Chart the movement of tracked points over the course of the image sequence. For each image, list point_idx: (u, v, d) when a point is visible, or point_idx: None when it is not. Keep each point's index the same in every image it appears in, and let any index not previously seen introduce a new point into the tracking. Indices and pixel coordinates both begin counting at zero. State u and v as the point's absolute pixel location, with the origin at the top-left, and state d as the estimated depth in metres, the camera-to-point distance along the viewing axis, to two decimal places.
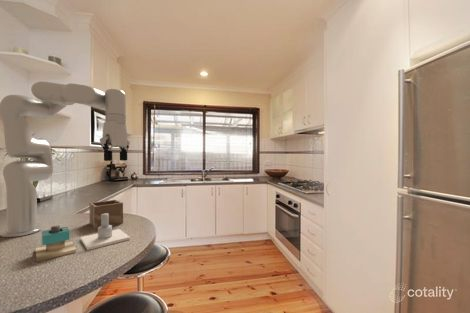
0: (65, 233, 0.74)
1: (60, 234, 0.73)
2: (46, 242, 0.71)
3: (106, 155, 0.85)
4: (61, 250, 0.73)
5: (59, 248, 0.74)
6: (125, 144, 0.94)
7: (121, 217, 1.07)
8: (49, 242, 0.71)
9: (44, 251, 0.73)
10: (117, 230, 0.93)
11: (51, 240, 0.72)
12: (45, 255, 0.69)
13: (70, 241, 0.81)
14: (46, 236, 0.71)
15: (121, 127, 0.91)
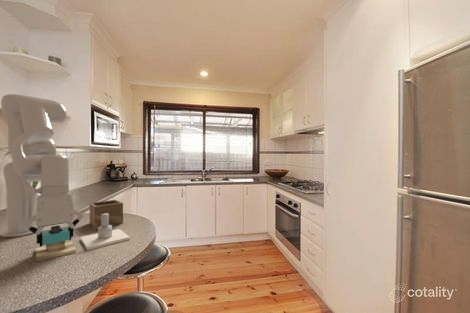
0: (65, 233, 0.74)
1: (60, 234, 0.73)
2: (46, 242, 0.71)
3: (72, 232, 0.78)
4: (61, 250, 0.73)
5: (59, 248, 0.74)
6: None
7: (121, 217, 1.07)
8: (49, 242, 0.71)
9: (44, 251, 0.73)
10: (117, 230, 0.93)
11: (51, 240, 0.72)
12: (45, 255, 0.69)
13: (70, 241, 0.81)
14: (46, 236, 0.71)
15: None
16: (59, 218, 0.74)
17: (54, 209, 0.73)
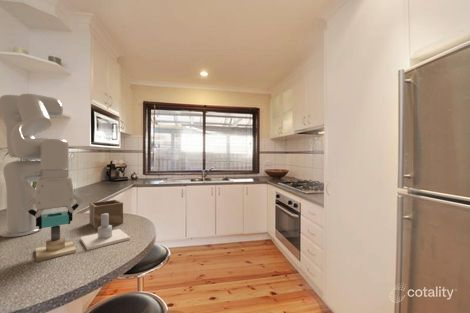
0: (64, 216, 0.74)
1: (59, 218, 0.73)
2: (46, 225, 0.71)
3: None
4: (61, 250, 0.73)
5: (59, 248, 0.74)
6: None
7: (121, 217, 1.07)
8: (48, 225, 0.72)
9: (44, 251, 0.73)
10: (117, 230, 0.93)
11: (50, 223, 0.72)
12: (45, 255, 0.69)
13: (70, 241, 0.81)
14: (45, 219, 0.71)
15: None
16: (58, 202, 0.74)
17: (53, 193, 0.73)
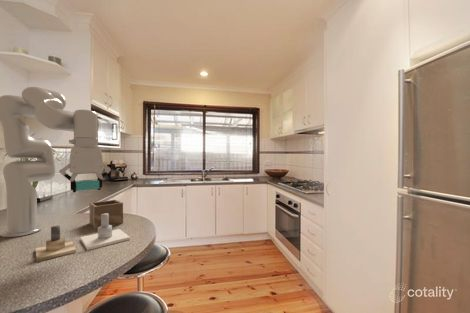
0: (95, 182, 0.80)
1: (91, 182, 0.79)
2: (79, 188, 0.77)
3: None
4: (61, 250, 0.73)
5: (59, 248, 0.74)
6: None
7: (121, 217, 1.07)
8: (82, 188, 0.77)
9: (44, 251, 0.73)
10: (117, 230, 0.93)
11: (83, 186, 0.78)
12: (45, 255, 0.69)
13: (70, 241, 0.81)
14: (79, 182, 0.77)
15: None
16: (90, 168, 0.80)
17: (85, 159, 0.79)
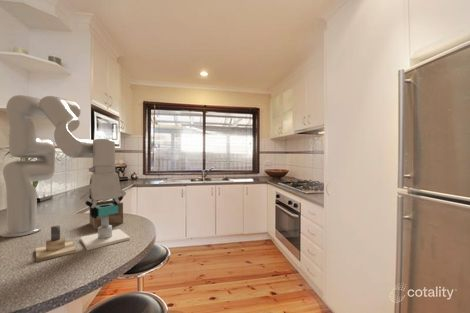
0: (115, 206, 0.85)
1: (111, 208, 0.84)
2: (101, 214, 0.81)
3: None
4: (61, 250, 0.73)
5: (59, 248, 0.74)
6: None
7: (121, 217, 1.07)
8: (103, 214, 0.82)
9: (44, 251, 0.73)
10: (117, 230, 0.93)
11: (105, 212, 0.82)
12: (45, 255, 0.69)
13: (70, 241, 0.81)
14: (101, 209, 0.81)
15: None
16: (110, 194, 0.84)
17: (106, 186, 0.83)
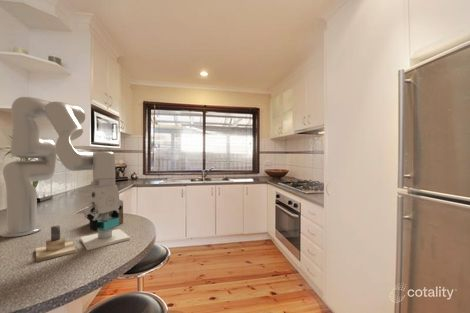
0: (116, 219, 0.87)
1: (113, 220, 0.85)
2: (106, 227, 0.82)
3: None
4: (61, 250, 0.73)
5: (59, 248, 0.74)
6: None
7: (121, 217, 1.07)
8: (108, 227, 0.83)
9: (44, 251, 0.73)
10: (117, 230, 0.93)
11: (109, 225, 0.83)
12: (45, 255, 0.69)
13: (70, 241, 0.81)
14: (106, 222, 0.82)
15: None
16: (112, 206, 0.85)
17: (109, 198, 0.84)
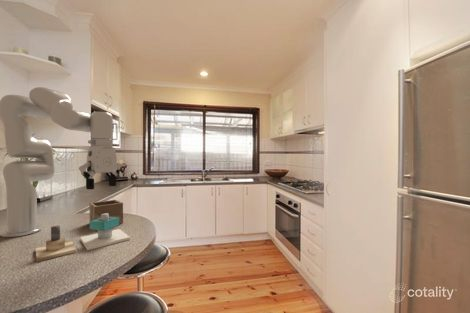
0: (116, 219, 0.87)
1: (113, 220, 0.85)
2: (106, 227, 0.82)
3: None
4: (61, 250, 0.73)
5: (59, 248, 0.74)
6: None
7: (121, 217, 1.07)
8: (108, 227, 0.83)
9: (44, 251, 0.73)
10: (117, 230, 0.93)
11: (109, 225, 0.83)
12: (45, 255, 0.69)
13: (70, 241, 0.81)
14: (106, 222, 0.82)
15: None
16: (109, 167, 0.85)
17: (105, 159, 0.84)
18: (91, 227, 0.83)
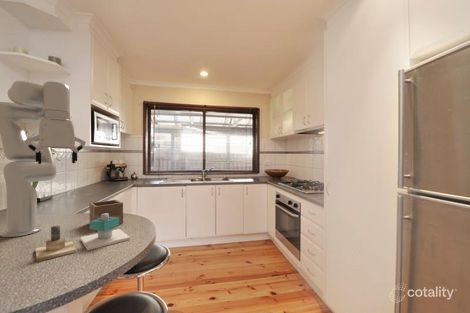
0: (116, 219, 0.87)
1: (113, 220, 0.85)
2: (106, 227, 0.82)
3: (76, 157, 0.84)
4: (61, 250, 0.73)
5: (59, 248, 0.74)
6: None
7: (121, 217, 1.07)
8: (108, 227, 0.83)
9: (44, 251, 0.73)
10: (117, 230, 0.93)
11: (109, 225, 0.83)
12: (45, 255, 0.69)
13: (70, 241, 0.81)
14: (106, 222, 0.82)
15: None
16: (61, 141, 0.78)
17: (55, 132, 0.77)
18: (91, 227, 0.83)
